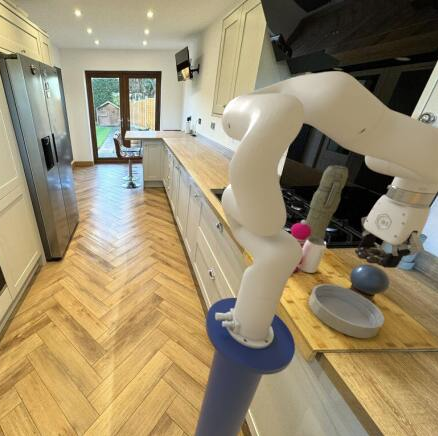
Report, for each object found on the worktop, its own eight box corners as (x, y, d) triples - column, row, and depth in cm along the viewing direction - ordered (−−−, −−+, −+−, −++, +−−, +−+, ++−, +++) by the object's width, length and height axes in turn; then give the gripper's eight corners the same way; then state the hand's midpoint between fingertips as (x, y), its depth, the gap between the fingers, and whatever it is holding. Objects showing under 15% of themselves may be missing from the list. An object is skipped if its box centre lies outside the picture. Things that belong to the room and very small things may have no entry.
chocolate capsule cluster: (368, 266, 60) (371, 260, 59) (347, 250, 67) (349, 245, 66) (404, 268, 60) (408, 262, 59) (380, 252, 66) (383, 246, 66)
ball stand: (356, 306, 72) (373, 277, 67) (335, 286, 80) (349, 258, 75) (385, 307, 72) (404, 278, 67) (361, 287, 80) (377, 259, 75)
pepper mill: (273, 261, 92) (288, 215, 83) (292, 262, 92) (309, 216, 83) (282, 273, 86) (299, 224, 77) (302, 274, 85) (322, 225, 77)
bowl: (331, 338, 62) (338, 326, 60) (297, 293, 76) (301, 283, 74) (393, 340, 62) (401, 328, 60) (347, 295, 76) (352, 284, 74)
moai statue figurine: (300, 250, 100) (331, 168, 85) (293, 236, 110) (319, 162, 95) (324, 254, 98) (360, 171, 82) (314, 240, 108) (345, 164, 93)
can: (294, 267, 89) (304, 240, 83) (298, 260, 93) (309, 234, 88) (313, 276, 85) (325, 248, 79) (317, 268, 89) (329, 241, 83)
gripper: (363, 184, 63) (338, 240, 71) (432, 210, 48) (390, 279, 55) (391, 184, 63) (363, 241, 71) (469, 211, 47) (422, 280, 55)
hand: (375, 257), depth 63 cm, fingers closed on chocolate capsule cluster, 7 cm apart
